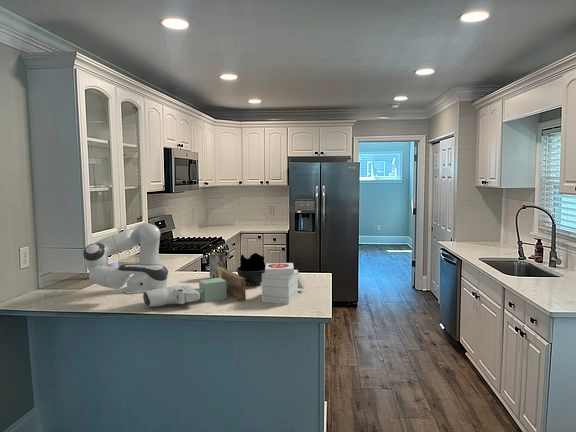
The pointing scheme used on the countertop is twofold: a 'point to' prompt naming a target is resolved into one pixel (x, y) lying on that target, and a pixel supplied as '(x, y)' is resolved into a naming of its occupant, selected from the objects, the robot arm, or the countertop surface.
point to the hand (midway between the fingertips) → (202, 290)
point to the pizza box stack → (281, 283)
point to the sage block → (213, 289)
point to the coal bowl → (252, 269)
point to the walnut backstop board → (234, 285)
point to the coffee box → (217, 265)
